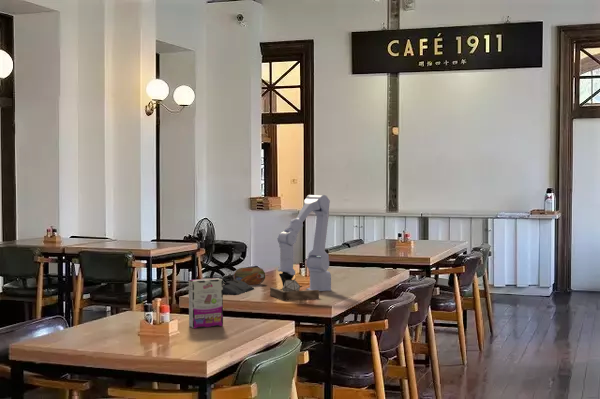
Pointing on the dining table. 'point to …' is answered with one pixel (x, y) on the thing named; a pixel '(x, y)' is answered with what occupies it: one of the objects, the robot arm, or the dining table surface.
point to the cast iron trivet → (236, 287)
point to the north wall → (301, 294)
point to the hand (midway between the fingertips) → (286, 289)
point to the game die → (290, 285)
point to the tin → (250, 275)
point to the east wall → (277, 293)
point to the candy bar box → (205, 303)
